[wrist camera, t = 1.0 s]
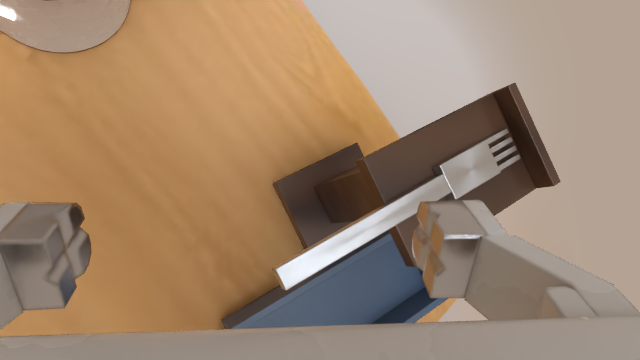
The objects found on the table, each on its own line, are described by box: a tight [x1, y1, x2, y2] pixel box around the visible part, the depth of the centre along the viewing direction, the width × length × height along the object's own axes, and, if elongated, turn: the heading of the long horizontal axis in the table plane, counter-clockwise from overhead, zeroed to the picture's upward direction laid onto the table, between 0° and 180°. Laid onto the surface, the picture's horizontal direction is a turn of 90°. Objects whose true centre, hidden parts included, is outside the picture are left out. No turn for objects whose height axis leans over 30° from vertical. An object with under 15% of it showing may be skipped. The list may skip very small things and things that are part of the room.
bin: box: [221, 230, 448, 329], centre depth 51 cm, size 11×26×6 cm, turn 117°
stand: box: [273, 83, 560, 267], centre depth 42 cm, size 10×13×28 cm
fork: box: [272, 128, 521, 290], centre depth 29 cm, size 20×3×1 cm, turn 117°
